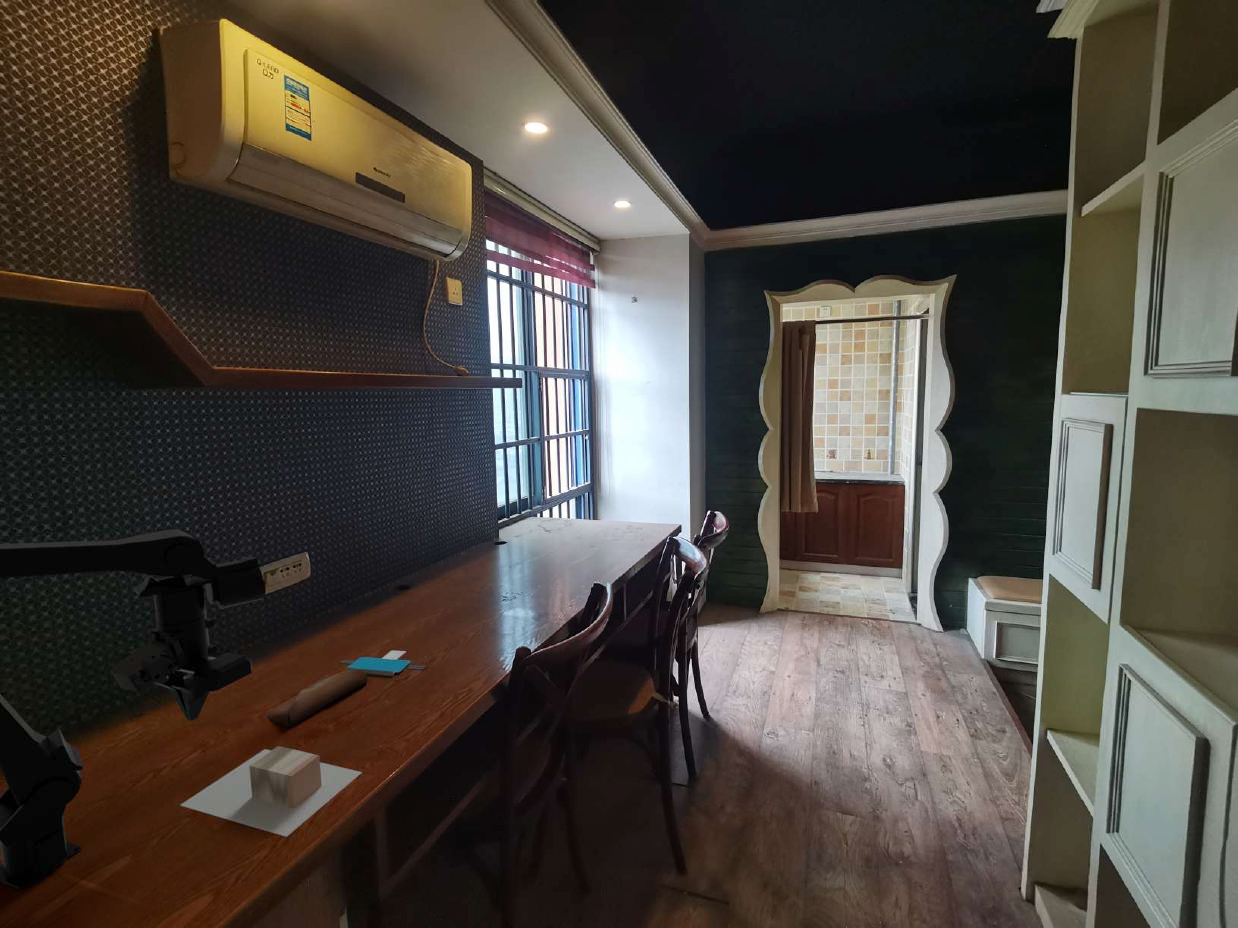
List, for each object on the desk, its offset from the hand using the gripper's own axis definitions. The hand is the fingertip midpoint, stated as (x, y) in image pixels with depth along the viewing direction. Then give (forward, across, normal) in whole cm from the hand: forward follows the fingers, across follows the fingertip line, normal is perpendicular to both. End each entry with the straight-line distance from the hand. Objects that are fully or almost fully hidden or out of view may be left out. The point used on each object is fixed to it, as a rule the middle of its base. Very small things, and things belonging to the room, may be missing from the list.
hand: (192, 719), depth 86 cm
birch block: (+9, +8, +4) cm, 13 cm away
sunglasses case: (+13, -4, +26) cm, 29 cm away
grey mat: (+12, +10, +4) cm, 16 cm away
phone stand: (+13, -3, +44) cm, 46 cm away
